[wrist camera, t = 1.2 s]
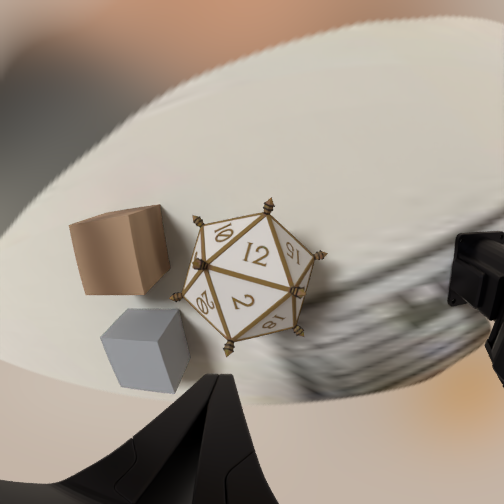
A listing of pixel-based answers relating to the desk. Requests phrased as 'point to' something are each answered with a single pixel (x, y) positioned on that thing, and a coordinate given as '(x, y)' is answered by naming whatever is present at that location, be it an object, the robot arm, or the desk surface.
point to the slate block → (148, 349)
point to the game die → (248, 276)
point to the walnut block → (121, 251)
